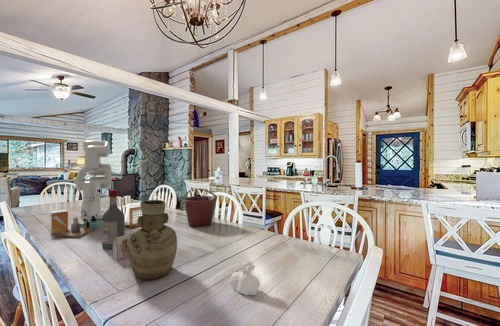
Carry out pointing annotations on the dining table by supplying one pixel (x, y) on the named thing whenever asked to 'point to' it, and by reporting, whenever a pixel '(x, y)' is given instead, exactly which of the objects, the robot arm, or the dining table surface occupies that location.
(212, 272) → the dining table surface
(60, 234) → the post base
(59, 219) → the small box
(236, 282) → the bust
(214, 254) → the dining table surface
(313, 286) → the dining table surface
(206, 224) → the bucket
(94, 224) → the keyed plate
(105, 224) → the liquor
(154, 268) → the ceramic vessel
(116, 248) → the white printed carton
